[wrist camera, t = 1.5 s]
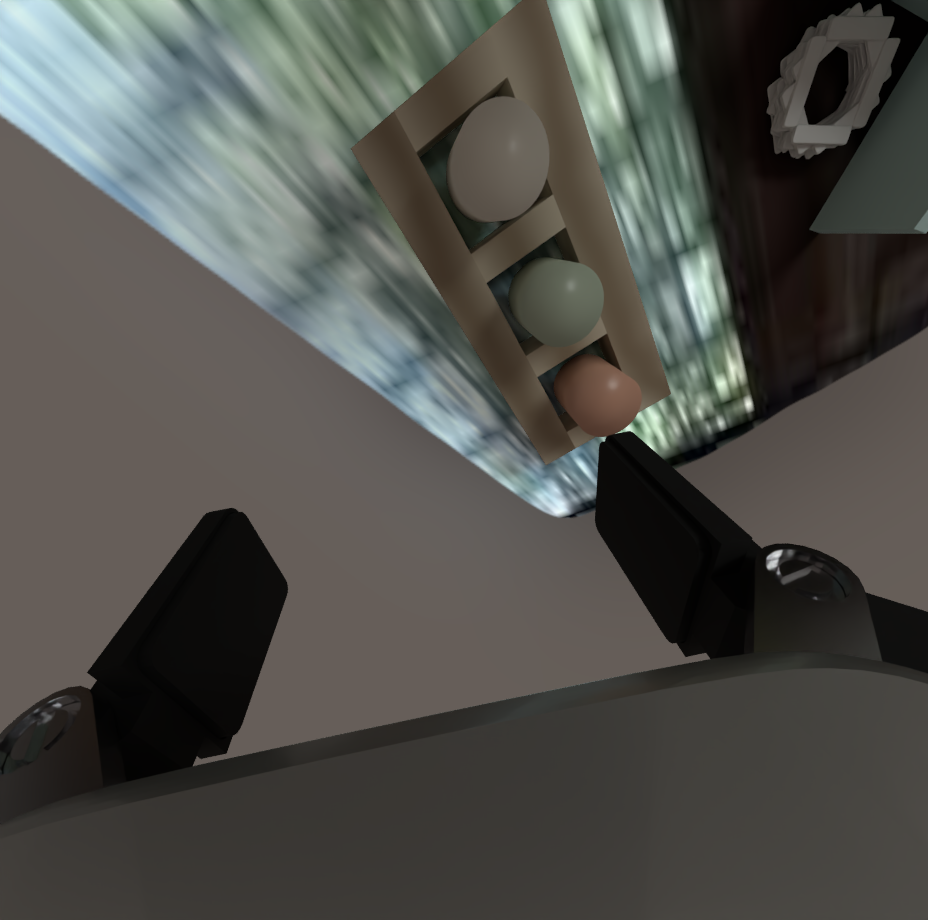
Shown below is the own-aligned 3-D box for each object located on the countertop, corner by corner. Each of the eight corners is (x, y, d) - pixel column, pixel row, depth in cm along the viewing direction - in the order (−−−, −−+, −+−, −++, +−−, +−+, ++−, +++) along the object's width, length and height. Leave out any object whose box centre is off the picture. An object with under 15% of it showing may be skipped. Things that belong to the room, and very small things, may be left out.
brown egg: (598, 341, 29) (630, 360, 24) (617, 389, 31) (649, 414, 27) (543, 375, 30) (565, 399, 25) (567, 419, 32) (590, 447, 28)
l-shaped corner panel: (801, -72, 20) (976, -209, 14) (946, 15, 23) (1149, -68, 17) (687, 187, 26) (774, 173, 20) (813, 233, 29) (926, 233, 23)
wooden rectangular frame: (525, 14, 20) (540, -16, 18) (651, 381, 34) (671, 393, 31) (357, 157, 23) (350, 148, 20) (536, 448, 36) (546, 465, 33)
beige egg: (500, 102, 21) (522, 69, 16) (536, 191, 23) (564, 182, 19) (430, 159, 22) (434, 141, 17) (472, 239, 24) (485, 240, 20)
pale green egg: (557, 241, 25) (586, 243, 20) (583, 305, 27) (614, 318, 23) (496, 284, 26) (512, 294, 21) (526, 342, 28) (546, 361, 24)
